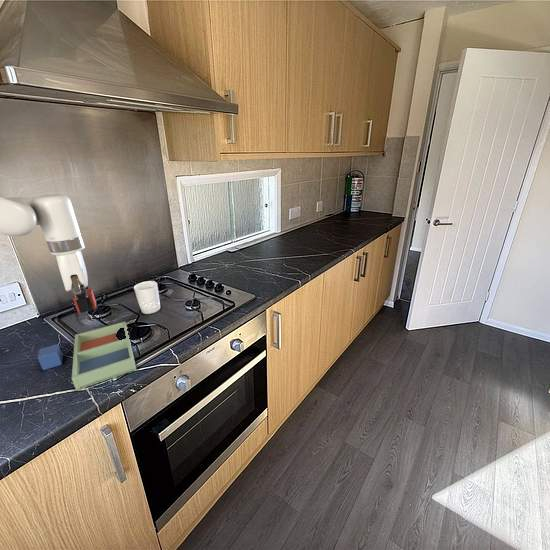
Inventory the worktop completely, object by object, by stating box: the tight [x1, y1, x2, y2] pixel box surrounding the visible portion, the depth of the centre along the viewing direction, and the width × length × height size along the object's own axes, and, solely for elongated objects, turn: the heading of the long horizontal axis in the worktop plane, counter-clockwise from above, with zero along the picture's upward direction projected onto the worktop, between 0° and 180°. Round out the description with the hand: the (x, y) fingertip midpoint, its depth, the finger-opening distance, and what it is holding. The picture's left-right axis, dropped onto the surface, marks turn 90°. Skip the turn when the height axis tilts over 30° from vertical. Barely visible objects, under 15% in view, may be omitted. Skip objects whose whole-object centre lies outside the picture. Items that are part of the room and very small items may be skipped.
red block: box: [72, 288, 97, 314], centre depth 81 cm, size 4×4×4 cm
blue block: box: [37, 343, 64, 371], centre depth 82 cm, size 4×4×4 cm
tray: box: [71, 321, 137, 391], centre depth 84 cm, size 14×22×4 cm, turn 30°
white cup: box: [133, 280, 161, 315], centre depth 108 cm, size 8×8×10 cm
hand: (86, 306), depth 82 cm, fingers closed on red block, 4 cm apart
